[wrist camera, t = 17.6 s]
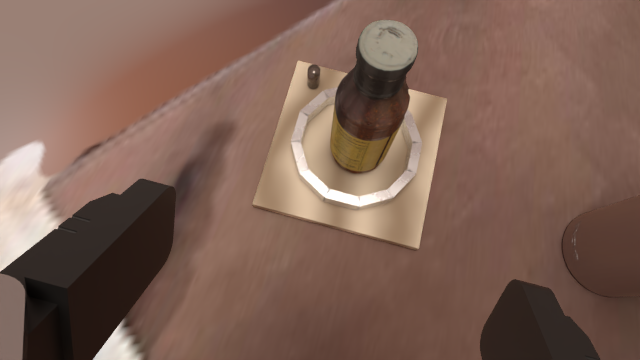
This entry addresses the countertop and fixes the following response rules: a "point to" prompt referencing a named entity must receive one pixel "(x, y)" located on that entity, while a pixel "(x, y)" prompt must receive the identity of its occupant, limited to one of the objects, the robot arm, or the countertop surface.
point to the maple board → (302, 203)
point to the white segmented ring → (317, 185)
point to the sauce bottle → (373, 96)
